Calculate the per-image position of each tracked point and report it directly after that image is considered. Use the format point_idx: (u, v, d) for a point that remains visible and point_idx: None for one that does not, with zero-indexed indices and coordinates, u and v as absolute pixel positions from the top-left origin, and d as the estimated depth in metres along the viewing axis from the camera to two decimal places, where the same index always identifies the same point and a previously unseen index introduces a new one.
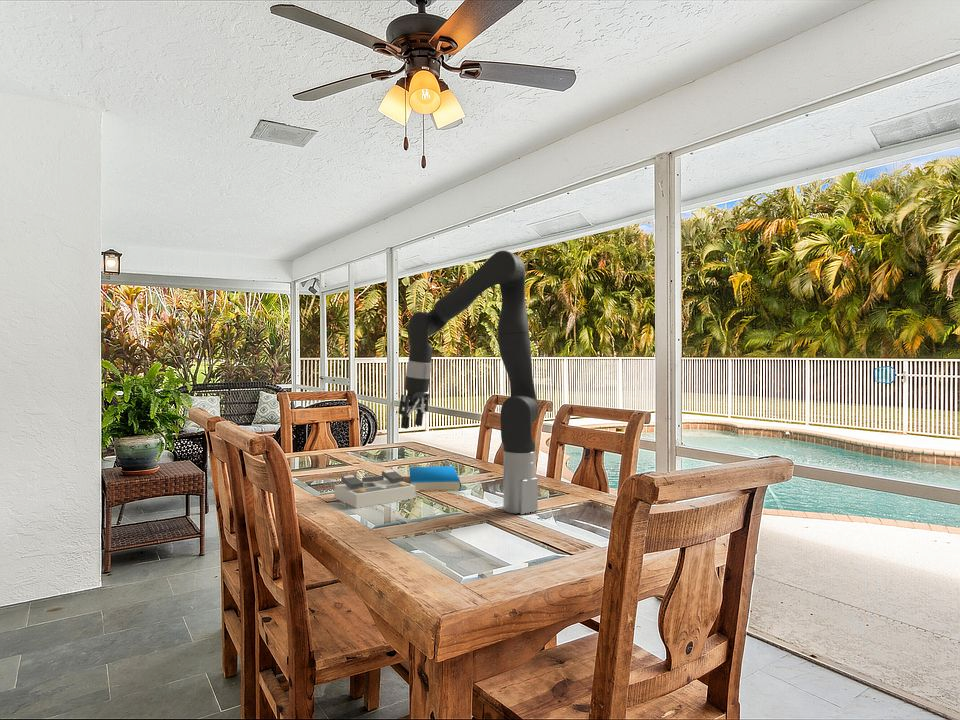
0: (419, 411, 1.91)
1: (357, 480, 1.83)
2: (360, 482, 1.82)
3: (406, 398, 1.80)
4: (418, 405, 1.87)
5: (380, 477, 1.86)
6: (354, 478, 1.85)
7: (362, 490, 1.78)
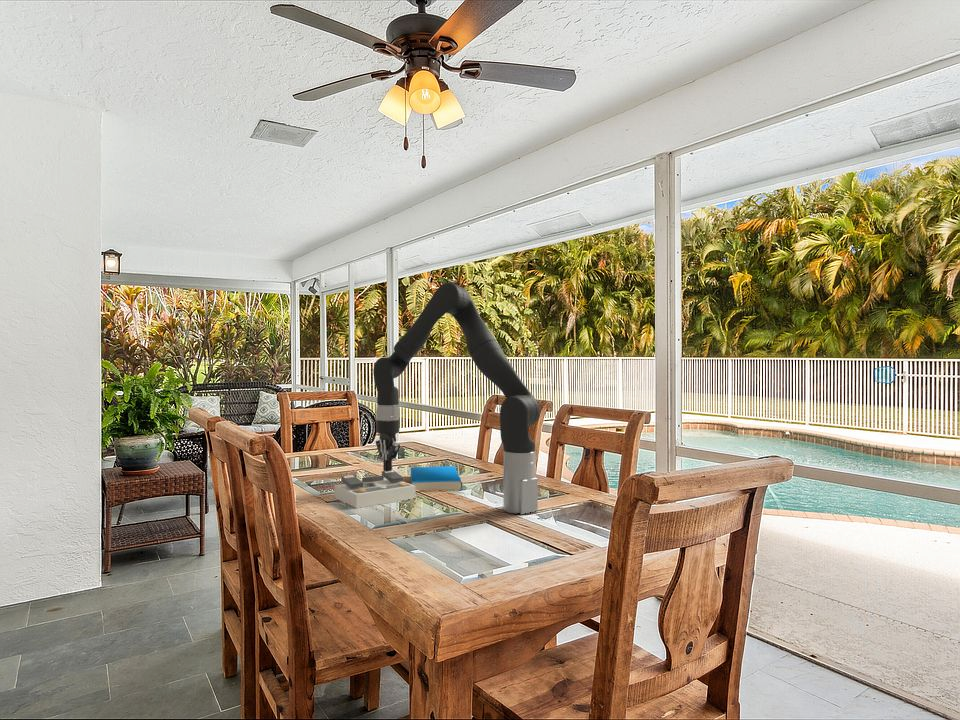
0: None
1: (357, 480, 1.83)
2: (360, 482, 1.82)
3: (398, 448, 1.90)
4: None
5: (380, 477, 1.86)
6: (354, 478, 1.85)
7: (362, 490, 1.78)
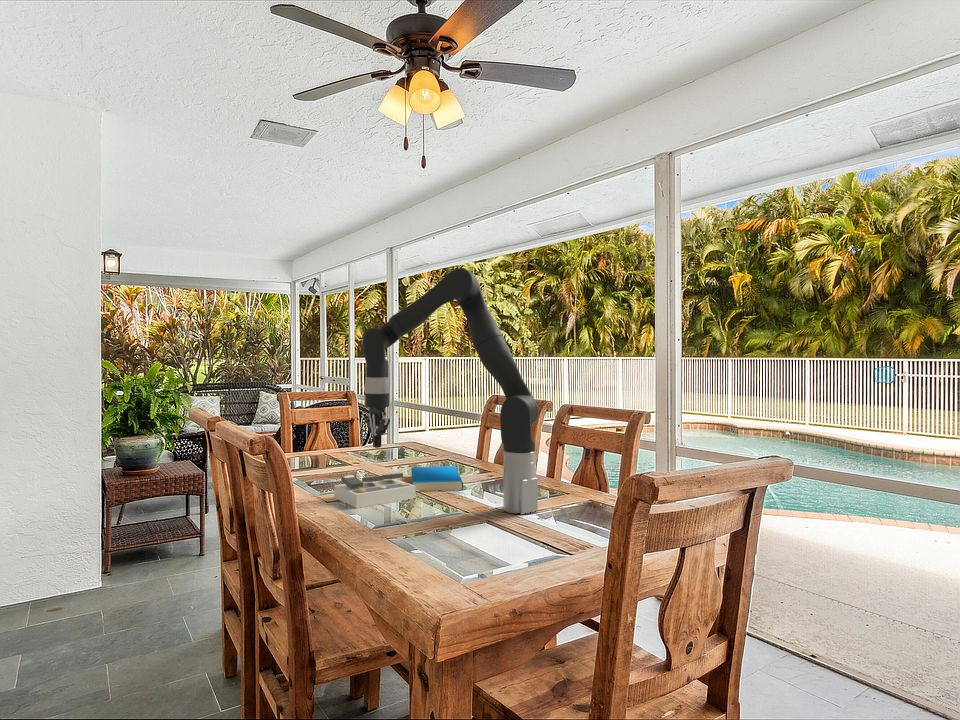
0: None
1: (357, 480, 1.83)
2: (360, 482, 1.82)
3: (388, 422, 1.81)
4: None
5: (380, 477, 1.86)
6: (354, 478, 1.85)
7: (362, 490, 1.78)
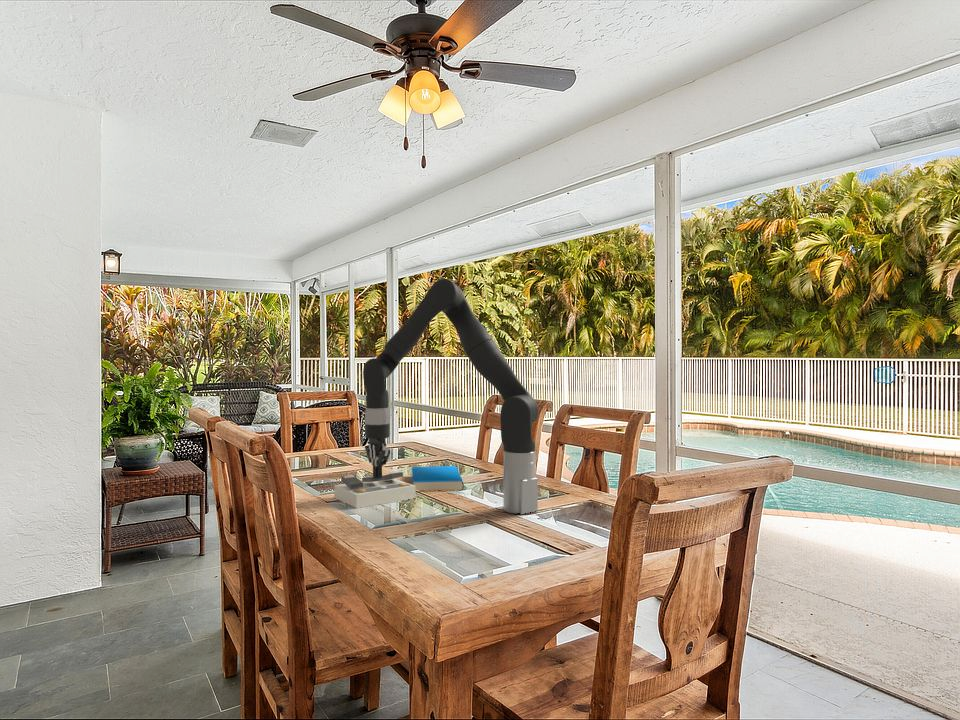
0: None
1: (357, 480, 1.83)
2: (360, 482, 1.82)
3: (388, 453, 1.81)
4: None
5: None
6: (354, 478, 1.85)
7: (362, 490, 1.78)
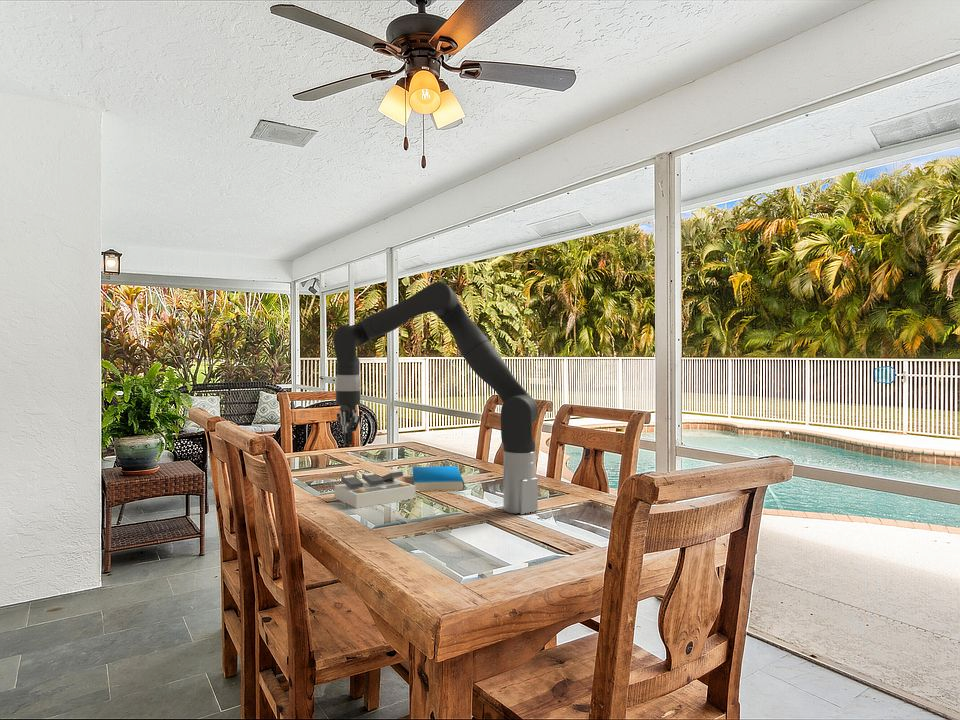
0: None
1: (357, 480, 1.83)
2: (360, 482, 1.82)
3: (358, 419, 1.82)
4: None
5: (380, 481, 1.86)
6: (354, 478, 1.85)
7: (362, 490, 1.78)
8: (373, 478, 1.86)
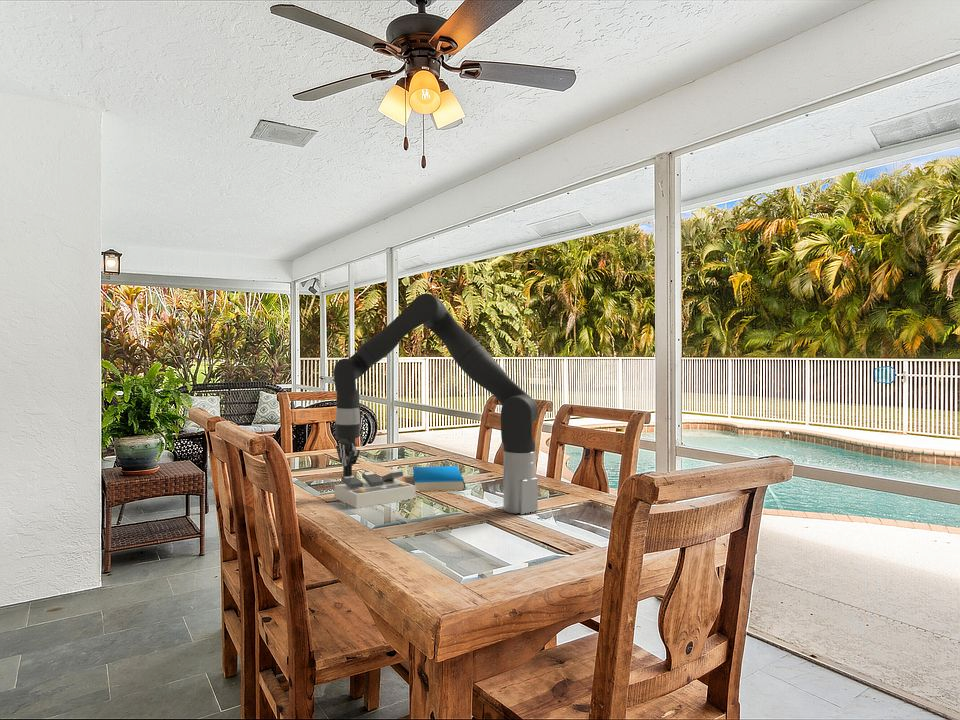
0: None
1: (357, 480, 1.83)
2: (360, 482, 1.82)
3: (358, 453, 1.82)
4: None
5: (380, 482, 1.86)
6: (354, 478, 1.85)
7: (362, 490, 1.78)
8: (373, 479, 1.86)
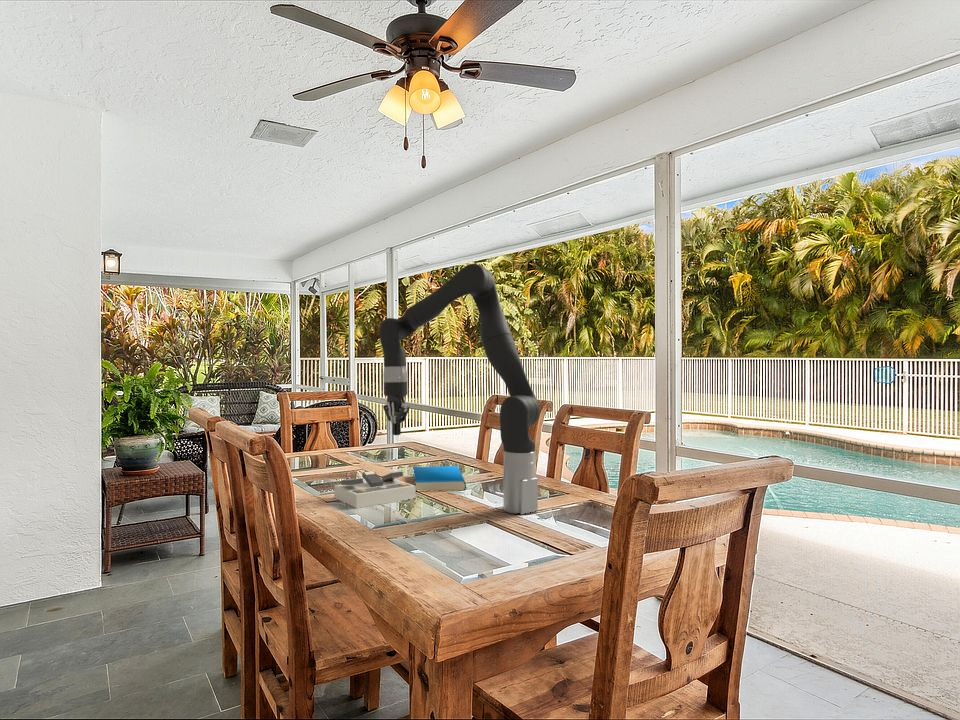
0: None
1: None
2: None
3: (407, 409, 1.86)
4: None
5: (380, 483, 1.86)
6: None
7: (362, 490, 1.78)
8: (373, 479, 1.86)
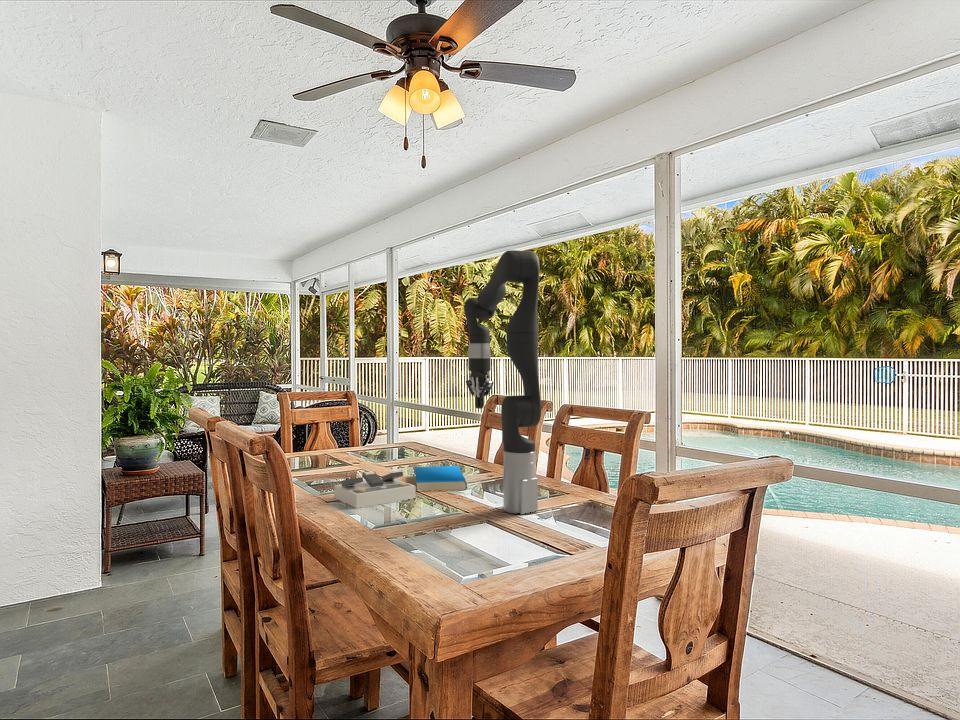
0: None
1: None
2: None
3: (492, 384, 1.97)
4: None
5: (380, 483, 1.86)
6: None
7: (362, 490, 1.78)
8: (373, 479, 1.86)
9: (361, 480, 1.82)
